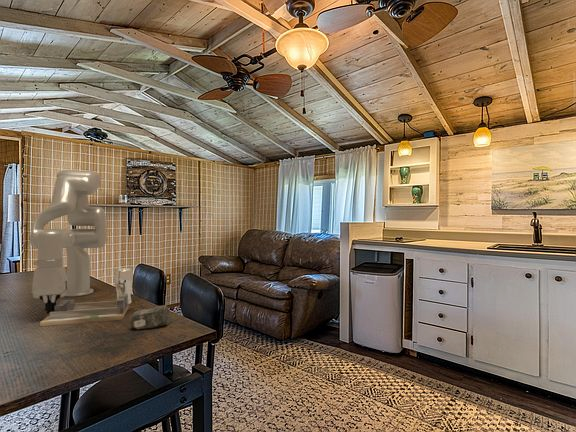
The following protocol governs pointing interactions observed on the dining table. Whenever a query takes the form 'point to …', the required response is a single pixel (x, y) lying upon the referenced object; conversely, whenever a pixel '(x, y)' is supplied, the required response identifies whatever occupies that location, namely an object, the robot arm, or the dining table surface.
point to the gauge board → (89, 312)
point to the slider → (64, 306)
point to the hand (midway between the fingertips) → (50, 312)
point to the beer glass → (124, 282)
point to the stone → (150, 317)
